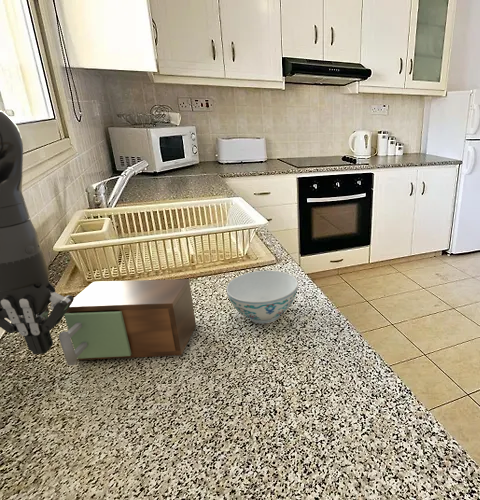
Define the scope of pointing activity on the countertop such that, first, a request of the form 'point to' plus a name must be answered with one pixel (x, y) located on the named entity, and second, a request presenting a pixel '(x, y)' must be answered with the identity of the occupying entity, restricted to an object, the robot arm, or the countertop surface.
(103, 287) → the cupboard
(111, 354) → the slide door
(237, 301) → the chinaware
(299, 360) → the countertop surface
